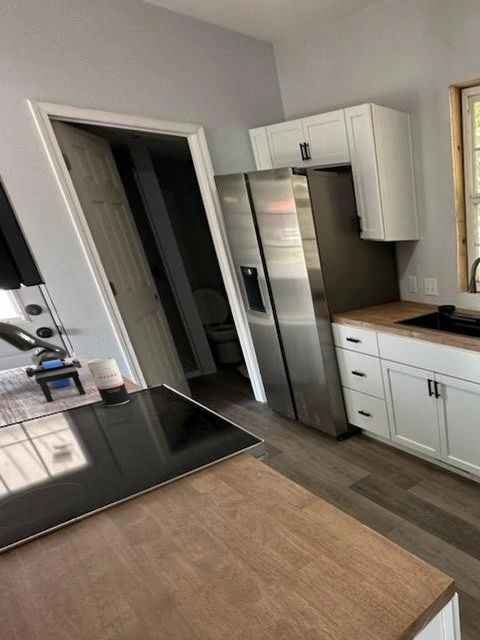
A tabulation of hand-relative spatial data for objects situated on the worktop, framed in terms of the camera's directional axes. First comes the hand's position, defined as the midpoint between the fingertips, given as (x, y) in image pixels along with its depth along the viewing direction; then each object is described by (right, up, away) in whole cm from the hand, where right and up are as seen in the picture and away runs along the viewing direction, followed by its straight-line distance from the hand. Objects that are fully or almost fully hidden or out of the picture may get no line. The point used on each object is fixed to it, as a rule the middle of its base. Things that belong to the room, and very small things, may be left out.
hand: (55, 371), depth 152 cm
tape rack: (+10, -8, -6) cm, 14 cm away
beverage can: (+38, -11, -15) cm, 42 cm away
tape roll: (+1, -6, +2) cm, 6 cm away
